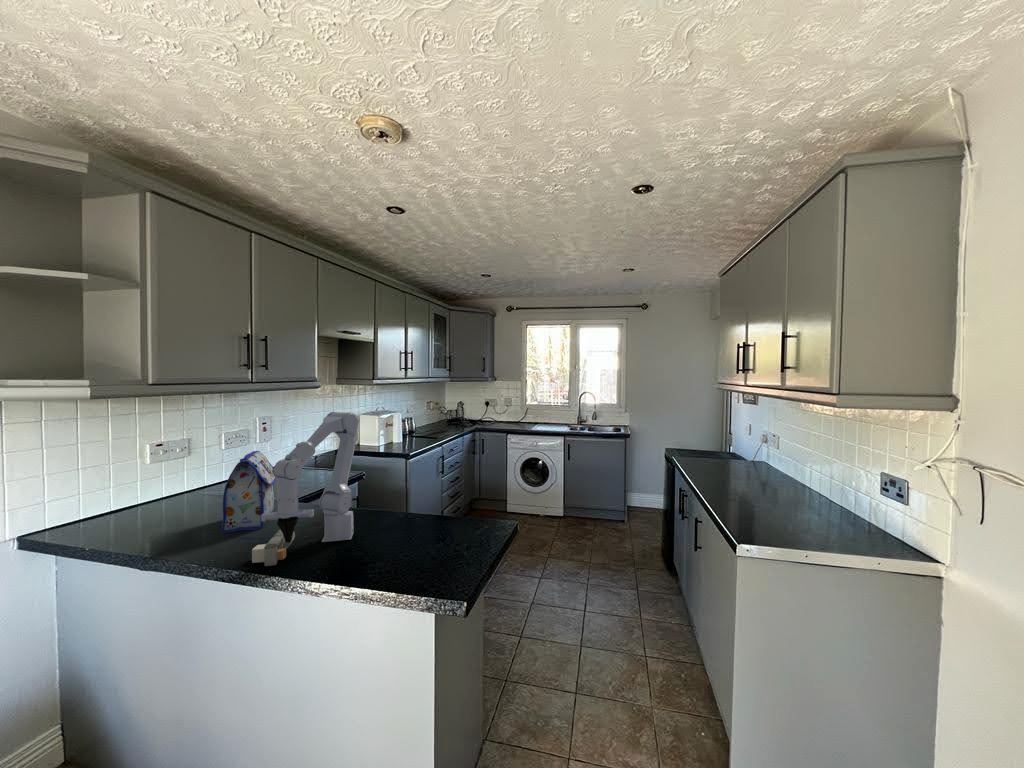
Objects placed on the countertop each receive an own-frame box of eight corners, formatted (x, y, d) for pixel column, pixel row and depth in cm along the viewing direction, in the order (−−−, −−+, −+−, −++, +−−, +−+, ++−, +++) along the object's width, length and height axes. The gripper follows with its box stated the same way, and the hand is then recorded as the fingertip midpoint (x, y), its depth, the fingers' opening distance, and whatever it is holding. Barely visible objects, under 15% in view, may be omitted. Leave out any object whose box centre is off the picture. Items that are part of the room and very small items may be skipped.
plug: (286, 555, 133) (286, 542, 133) (282, 560, 129) (282, 547, 129) (257, 557, 132) (257, 544, 132) (252, 562, 128) (251, 549, 128)
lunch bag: (271, 528, 158) (270, 457, 158) (219, 534, 152) (218, 460, 152) (280, 511, 179) (279, 448, 179) (234, 516, 173) (233, 451, 173)
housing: (295, 543, 143) (294, 526, 143) (280, 564, 127) (280, 545, 127) (276, 545, 142) (276, 528, 142) (259, 566, 125) (259, 547, 125)
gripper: (257, 503, 126) (258, 549, 126) (310, 499, 129) (311, 543, 130) (265, 497, 133) (266, 540, 133) (314, 493, 136) (315, 535, 136)
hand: (288, 541), depth 132 cm, fingers closed
